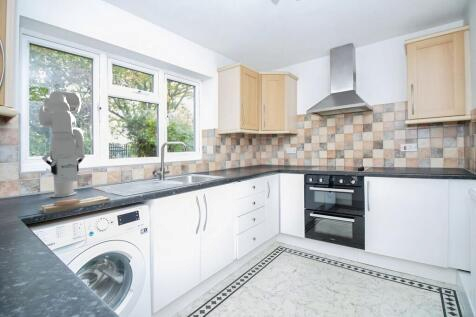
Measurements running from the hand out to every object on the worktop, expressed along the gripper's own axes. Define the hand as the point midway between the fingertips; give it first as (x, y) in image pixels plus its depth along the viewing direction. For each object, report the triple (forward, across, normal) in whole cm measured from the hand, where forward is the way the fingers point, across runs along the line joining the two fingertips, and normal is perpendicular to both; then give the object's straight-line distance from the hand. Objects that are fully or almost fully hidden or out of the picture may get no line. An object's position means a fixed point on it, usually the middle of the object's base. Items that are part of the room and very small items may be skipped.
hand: (65, 173), depth 111 cm
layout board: (+17, -4, 0) cm, 17 cm away
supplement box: (+4, 0, 0) cm, 4 cm away
